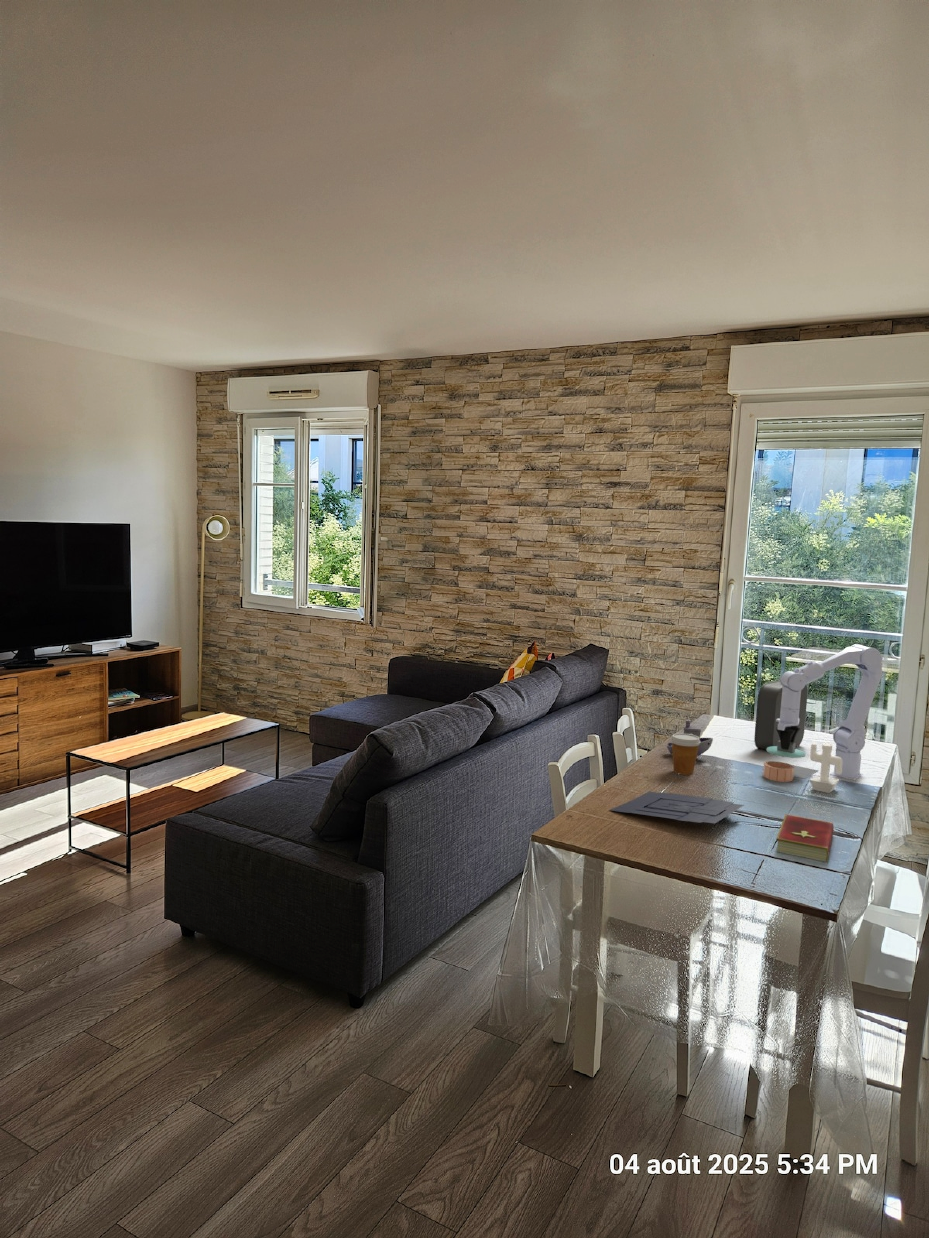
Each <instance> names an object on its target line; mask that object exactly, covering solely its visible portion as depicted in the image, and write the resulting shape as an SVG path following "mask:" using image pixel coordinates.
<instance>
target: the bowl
mask: <svg viewBox="0 0 929 1238" xmlns="http://www.w3.org/2000/svg"><path fill="white" fill-rule="evenodd" d="M793 765H794V764H790V763H787V762H782V761H776V760H775V761H773V760H772V761H771V760H770V761H765V762H763V768H762V771H763V772H762V776H763V778H765V779H768V780H771V781H774V782H783V783H786V782H792V781H793V780H794V777H793V776H794V766H793Z"/></svg>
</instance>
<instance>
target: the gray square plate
mask: <svg viewBox="0 0 929 1238" xmlns="http://www.w3.org/2000/svg"><path fill="white" fill-rule="evenodd" d="M792 765H793V766H794V776H793V778H798V779H803V780H806V779H809V777H811V776H814V775H815V774H816V773H818V772H820V771H819V770H818V769H814V768H813V769H812V768H809V767H803V766H800V765H794V764H792Z"/></svg>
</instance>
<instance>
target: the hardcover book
mask: <svg viewBox="0 0 929 1238" xmlns="http://www.w3.org/2000/svg"><path fill="white" fill-rule="evenodd" d="M833 835H834V823H833V822H831V821H824V820H820V819H814V818H809V817H803V816H798V815H793V814H786V813H785V815H784V819H783V821H782V823H781V825H780V828H779V831H778V834H777V836H776V838H775V839H776V841H777V847H776V848H777V849H776V852H777V853H781V854H787V855H790V856H791V855H792V856H796V857H801V858H805V859H806V858H807V859H812V860H817V861H820V862H825V863H828V860H829V855H830V849H831V845H832V842H833Z"/></svg>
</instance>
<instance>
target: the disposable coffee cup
mask: <svg viewBox="0 0 929 1238" xmlns="http://www.w3.org/2000/svg"><path fill="white" fill-rule="evenodd" d="M670 742H671V743H672V751H673V754H672V765H673V767H672V768H673V773H675V774H678V775H684V776H686V775H688V776H689V775H693V774H694V770H695V767H696V762H697V761H696V760H697V757H698V756H697V752H698V747H699V745H700V743H701V742H700V739H699V737H698V736H695V735H693V734H684V733H683V732H682V733H674V734H672V736H671V738H670Z"/></svg>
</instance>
